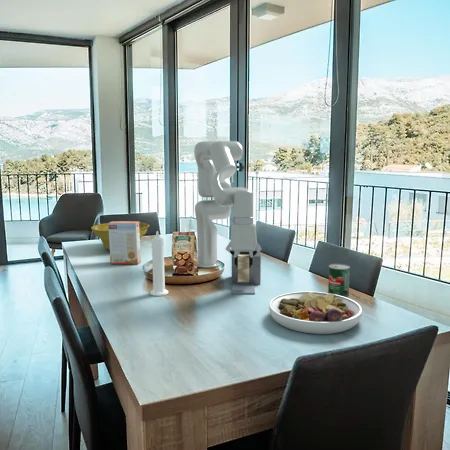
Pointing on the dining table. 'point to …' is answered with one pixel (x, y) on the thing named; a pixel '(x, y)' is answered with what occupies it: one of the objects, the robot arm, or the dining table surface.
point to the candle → (158, 266)
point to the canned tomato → (339, 279)
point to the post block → (253, 271)
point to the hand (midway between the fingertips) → (243, 266)
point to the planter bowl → (103, 232)
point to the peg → (243, 268)
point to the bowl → (315, 312)
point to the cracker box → (124, 242)
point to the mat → (243, 289)
